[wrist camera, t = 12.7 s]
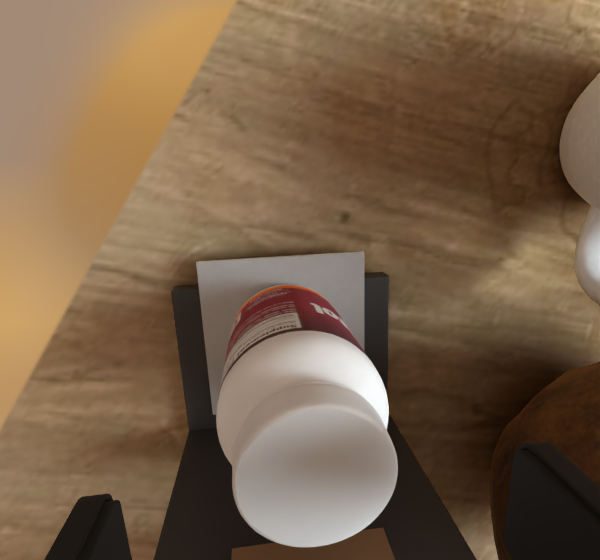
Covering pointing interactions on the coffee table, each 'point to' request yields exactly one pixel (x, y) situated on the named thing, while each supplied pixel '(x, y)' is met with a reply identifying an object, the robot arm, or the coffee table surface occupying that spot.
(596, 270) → the mug
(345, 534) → the pill bottle
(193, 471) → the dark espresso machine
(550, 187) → the coffee table surface
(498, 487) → the bowl
